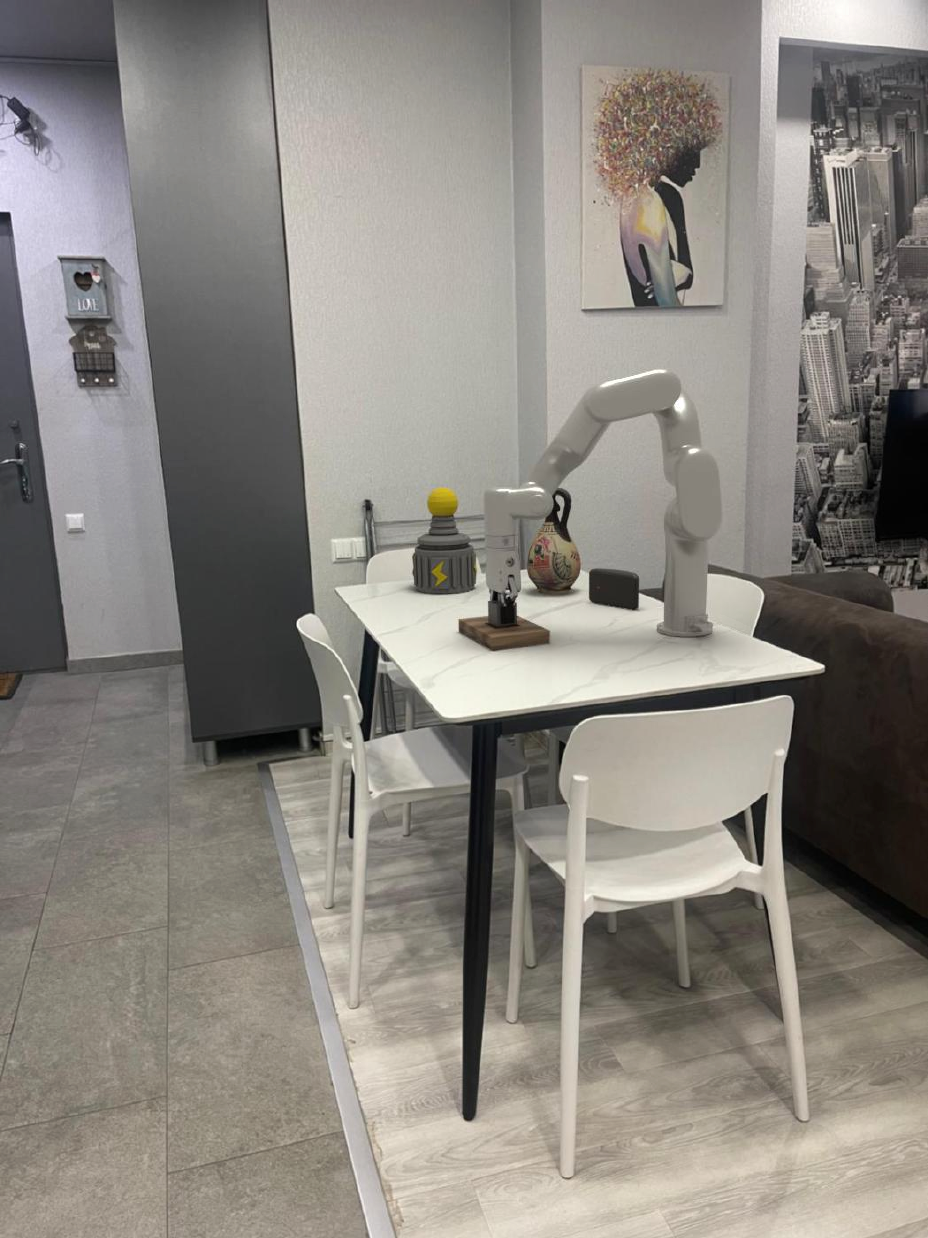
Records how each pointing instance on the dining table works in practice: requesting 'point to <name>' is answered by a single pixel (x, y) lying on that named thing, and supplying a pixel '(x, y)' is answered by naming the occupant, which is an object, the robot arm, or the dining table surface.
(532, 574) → the ceramic jug
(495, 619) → the plug
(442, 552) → the decorative lamp
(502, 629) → the socket board
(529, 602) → the dining table surface
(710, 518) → the robot arm
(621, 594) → the rounded red-dot block
